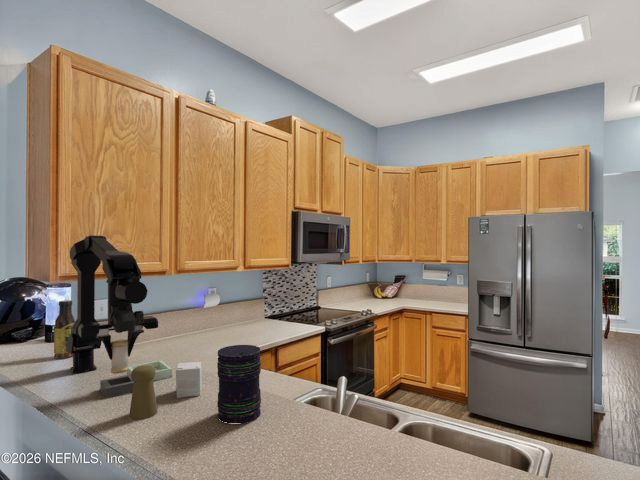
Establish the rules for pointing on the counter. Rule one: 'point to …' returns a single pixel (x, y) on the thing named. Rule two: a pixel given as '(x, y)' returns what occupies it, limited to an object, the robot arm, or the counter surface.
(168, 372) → the parts tray
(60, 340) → the sauce bottle
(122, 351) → the fuse
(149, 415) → the olive pepper mill
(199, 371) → the skincare box
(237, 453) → the counter surface
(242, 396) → the storage jar
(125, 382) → the socket block
